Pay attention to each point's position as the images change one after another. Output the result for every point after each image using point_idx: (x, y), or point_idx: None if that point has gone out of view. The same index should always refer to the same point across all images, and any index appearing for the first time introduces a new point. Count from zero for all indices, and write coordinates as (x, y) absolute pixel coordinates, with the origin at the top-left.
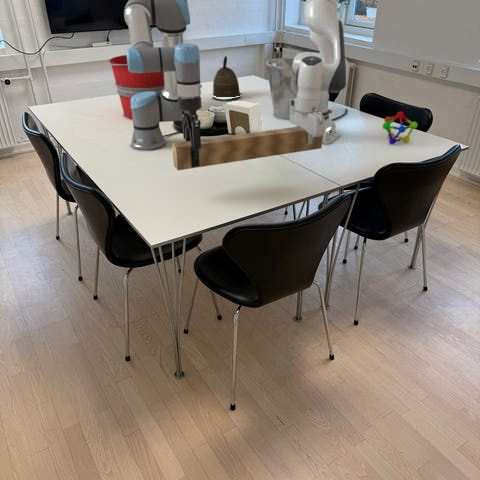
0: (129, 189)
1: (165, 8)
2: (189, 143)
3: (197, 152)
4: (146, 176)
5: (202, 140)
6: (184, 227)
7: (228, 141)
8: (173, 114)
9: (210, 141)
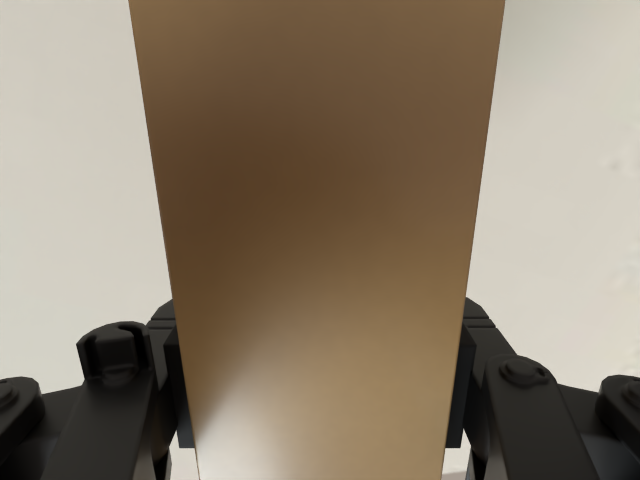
0: None
1: None
2: (325, 477)
3: (506, 353)
4: (9, 352)
5: (249, 229)
6: (603, 327)
7: None
8: None
9: (391, 66)
